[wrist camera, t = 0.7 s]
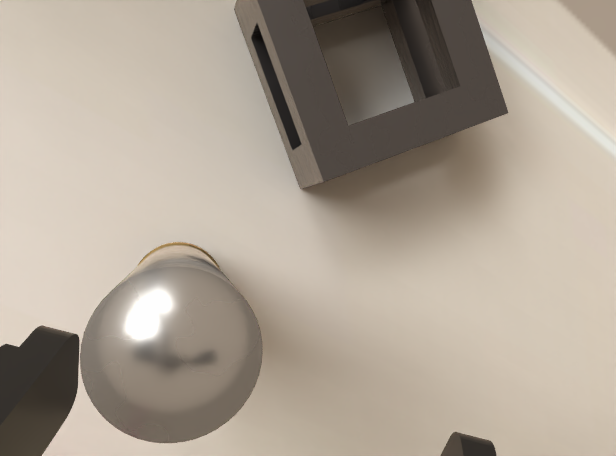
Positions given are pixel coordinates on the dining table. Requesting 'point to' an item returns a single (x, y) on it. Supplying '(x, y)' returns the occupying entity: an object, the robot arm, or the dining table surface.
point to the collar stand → (322, 95)
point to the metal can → (171, 348)
